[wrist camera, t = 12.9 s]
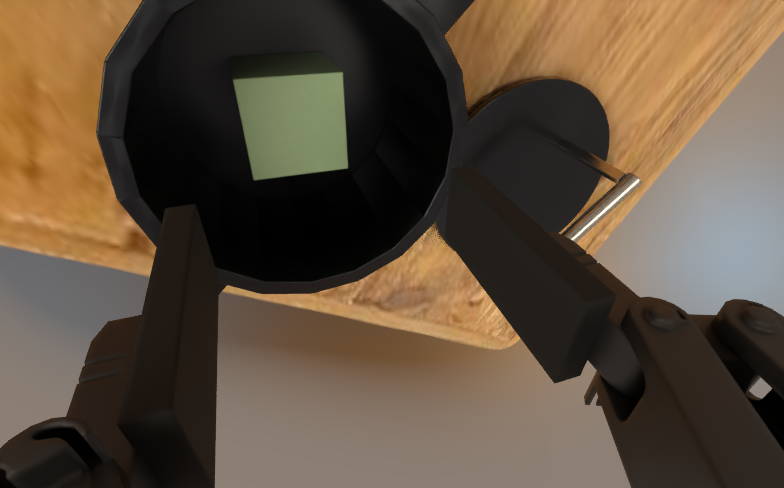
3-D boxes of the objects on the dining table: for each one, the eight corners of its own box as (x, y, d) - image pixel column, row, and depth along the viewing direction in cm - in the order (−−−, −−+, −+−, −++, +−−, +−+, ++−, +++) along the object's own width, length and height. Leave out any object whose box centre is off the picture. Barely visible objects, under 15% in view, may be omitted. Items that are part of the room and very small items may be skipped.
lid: (386, 195, 31) (431, 262, 24) (548, 22, 27) (651, 46, 20) (494, 278, 40) (546, 343, 34) (624, 159, 36) (711, 205, 30)
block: (249, 144, 25) (253, 181, 21) (231, 56, 22) (232, 79, 18) (330, 136, 26) (348, 168, 22) (323, 51, 23) (343, 71, 19)
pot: (61, 150, 22) (-19, 249, 15) (288, -195, 18) (332, -295, 10) (281, 262, 31) (299, 359, 24) (471, 51, 26) (565, 91, 19)
